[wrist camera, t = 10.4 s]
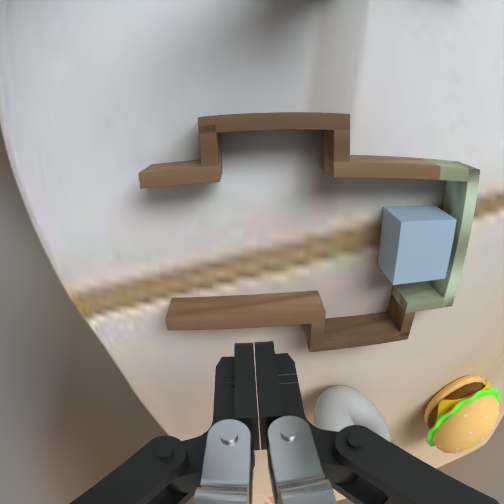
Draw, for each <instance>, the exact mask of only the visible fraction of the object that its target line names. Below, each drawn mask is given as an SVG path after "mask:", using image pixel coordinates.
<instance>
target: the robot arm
mask: <svg viewBox="0 0 504 504" xmlns="http://www.w3.org/2000/svg"><path fill="white" fill-rule="evenodd" d="M255 361H256V379H257V394H258V408H259V422H260V436H261V450H265V449H267V455H268V470H269V475H270V481H271V486H272V492H273V497H274V503H275V504H337V501H336V498H335V495H334V491H333V488H334V489H335V490H336V491H338V492H339V493H340V494H342V495H343V496H345V497H346V498H348V499H349V500H351V501H352V502H353V503H355V504H499V503H498V502H497V501H496V500H495V499H493V498H491V497H489V496H487V495H485V494H483V493H481V492H479V491H477V490H475V489H473V488H471V487H469V486H467V485H465V484H463V483H461V482H459V481H458V480H456V479H454V478H452V477H450V476H448V475H446V474H444V473H443V472H441V471H439V470H437V469H435V468H434V467H432V466H430V465H428V464H427V463H425V462H423V461H421V460H420V459H418V458H416V457H414V456H413V455H411V454H409V453H408V452H406V451H404V450H403V449H401V448H399V447H398V446H396V445H394V444H393V443H391V442H389V441H388V440H386V439H385V438H383V437H381V436H380V435H378V434H376V433H375V432H373V431H372V430H370V429H369V428H367V427H364V426H361V425H350V426H347V427H345V428H343V429H342V430H340V431H339V432H338V431H330V430H323V429H320V428H317V427H315V426H313V425H312V424H311V423H310V422H309V421H308V420H307V419H306V417H305V414H304V409H303V404H302V399H301V393H300V388H299V383H298V378H297V374H296V368H295V363H294V361H293V360H292V358H291V357H290V356H289V355H288V353H283V354H275V351H274V344H273V341H268V342H255ZM254 450H260V447H259V428H258V411H257V396H256V381H255V366H254V350H253V343H235V357H222V358H221V359H220V361H219V363H218V364H217V366H216V375H215V393H214V412H213V422H212V425H211V427H210V428H209V430H208V431H207V432H206V433H204V434H203V435H201V436H199V437H196V438H193V439H189V440H185V441H180V440H179V439H177V438H175V437H172V436H160V437H156V438H154V439H152V440H151V441H150V442H149V443H147V444H146V445H145V446H144V447H143V448H141V449H140V450H139V451H138V452H136V453H135V454H134V455H133V456H132V457H130V458H129V459H128V460H127V461H125V462H124V463H123V464H122V465H120V466H119V467H118V468H116V469H115V470H114V471H113V472H111V473H110V474H109V475H108V476H106V477H105V478H104V479H102V480H101V481H100V482H98V483H97V484H96V485H94V486H93V487H92V488H90V489H89V490H88V491H86V492H85V493H83V494H82V495H81V496H79V497H78V498H77V499H75V500H74V501H72V502H71V503H70V504H185V503H186V502H187V501H188V500H189V499H190V498H191V497H192V496H193V495H195V496H194V502H193V504H252V498H253V473H254V466H255V454H254Z"/></svg>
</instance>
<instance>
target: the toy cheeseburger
mask: <svg viewBox="0 0 504 504" xmlns="http://www.w3.org/2000/svg"><path fill="white" fill-rule="evenodd" d="M485 383H486V385H485ZM485 383H484V380H483V379H482V378H480V377H478V376H475V375H469V376H465V377H462V378H459V379H457V380H455V381H453V382H451V383H450V384H448V385H447V386H445V387H444V388H443V389H442V390H440V391H439V392H438V393H437V394H436V395H435V396H434V397H433V398H432V400H431V401H430V402H429V404H428V405H427V407H426V410H425V414H424V420H425V423H426V424H427V425H428V426H429V431H428V433H427V440H426V441H427V443H428V444H429V445H430V446H431V447H432V446H434V445H435V446H436V447H437V448H438V449H440V450H441V451H443V452H446V453H458V452H463V451H464V450H467V449H470V448H472V447H474V446H476V445H477V444H479V443H480V442H481V441H482V440H483V439H484V438H485V437H486V436H487V435H488V434H489V433H490V431H491V430H492V429H493V427H494V426H495V423H496V421H497V418H498V415H499V399H500V398H499V391H498V390H497V389H495V388H492V387H491V385H490V383H489V382H488V381H487V380H486V381H485Z"/></svg>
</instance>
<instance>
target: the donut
mask: <svg viewBox="0 0 504 504" xmlns="http://www.w3.org/2000/svg"><path fill="white" fill-rule="evenodd" d="M314 421H315V426H316V427H317V428H320V429H323V430H330V431H338V432H339V431H340V430H342V429H343V428H345V427H347V426H350V425H361V426H364V427H367V428H369V429H370V430H372V431H373V432H375V433H376V434H378V435H380V436H381V437H383V438H385V439H386V440H388V441H389V442H390V433H389V429H388V426H387V423H386V421H385V419H384V417H383V416H382V414H381V413H380V411H379V410H378V408H377V407H376V406H375V405H374V404H373V403H372V402H371V400H369V399H368V398H367V397H366V396H365V395H363V394H362V393H360V392H359V391H357V390H355V389H354V388H351V387H347V386H342V385H341V386H333V387H330V388H328V389H326V390H325V391H324V392H323V393H321V394H320V396H319V397H318V398H317V401H316V404H315V407H314Z"/></svg>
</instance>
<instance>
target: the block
mask: <svg viewBox="0 0 504 504" xmlns="http://www.w3.org/2000/svg"><path fill="white" fill-rule="evenodd" d="M456 221H457V220H456V219H455V218H453V217H452V216H450V215H449V214H447V213H446V212H444V211H443V210H441V209H439V208H438V207H436V206H396V207H383V214H382V226H381V237H380V246H379V255H378V264H377V265H378V266H379V267H380V269H381V270H382V271H383V273H384V274H385V275H386V277H387V278H388V279H389V281H390V282H391V284H392V285H398V284H406V283H414V282H422V281H430V280H438V279H445V277H446V273H447V268H448V264H449V259H450V254H451V249H452V244H453V239H454V233H455V227H456Z"/></svg>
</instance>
